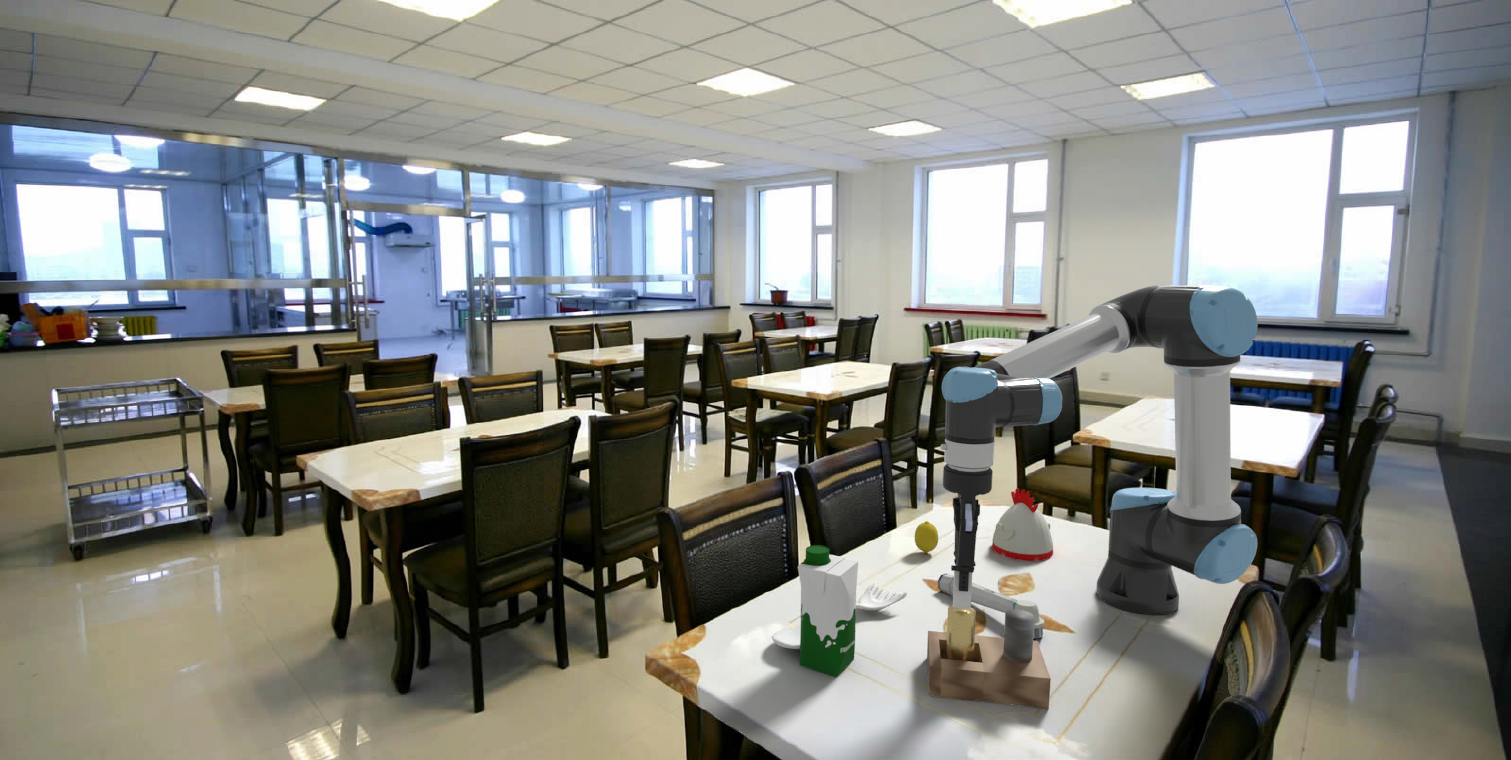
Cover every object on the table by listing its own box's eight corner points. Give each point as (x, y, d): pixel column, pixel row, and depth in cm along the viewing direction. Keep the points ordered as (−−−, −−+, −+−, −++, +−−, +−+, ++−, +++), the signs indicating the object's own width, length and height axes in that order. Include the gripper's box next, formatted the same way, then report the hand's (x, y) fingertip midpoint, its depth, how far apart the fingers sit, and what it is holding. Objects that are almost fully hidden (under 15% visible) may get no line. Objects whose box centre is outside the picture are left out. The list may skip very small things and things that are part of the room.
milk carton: (815, 645, 134) (816, 538, 131) (861, 658, 129) (864, 548, 126) (792, 666, 126) (792, 554, 123) (840, 681, 122) (842, 565, 119)
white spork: (909, 606, 148) (908, 590, 147) (798, 663, 126) (797, 644, 126) (873, 596, 154) (872, 580, 154) (762, 648, 133) (761, 629, 132)
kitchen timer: (1023, 537, 189) (1026, 480, 187) (1065, 555, 176) (1069, 494, 174) (980, 545, 183) (982, 486, 181) (1020, 564, 171) (1024, 502, 169)
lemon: (940, 557, 175) (941, 525, 174) (916, 557, 175) (917, 525, 174) (934, 549, 180) (935, 517, 179) (912, 549, 180) (913, 517, 179)
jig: (1035, 668, 126) (1039, 601, 124) (1048, 708, 114) (1053, 635, 112) (927, 657, 129) (929, 592, 127) (928, 695, 118) (931, 624, 116)
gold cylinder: (971, 673, 124) (974, 605, 122) (973, 687, 120) (977, 617, 118) (944, 670, 125) (947, 603, 123) (945, 684, 121) (948, 615, 119)
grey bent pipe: (953, 570, 158) (1049, 598, 136) (955, 601, 158) (1051, 634, 136) (934, 574, 156) (1029, 605, 134) (936, 606, 156) (1031, 641, 134)
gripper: (941, 454, 124) (936, 588, 128) (945, 475, 112) (939, 622, 115) (988, 457, 123) (981, 591, 126) (997, 477, 110) (989, 627, 113)
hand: (961, 606), depth 121 cm, fingers closed
